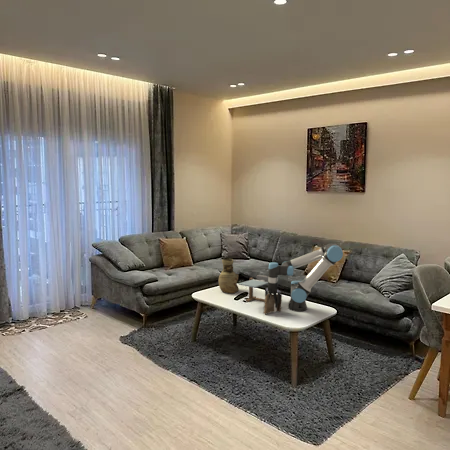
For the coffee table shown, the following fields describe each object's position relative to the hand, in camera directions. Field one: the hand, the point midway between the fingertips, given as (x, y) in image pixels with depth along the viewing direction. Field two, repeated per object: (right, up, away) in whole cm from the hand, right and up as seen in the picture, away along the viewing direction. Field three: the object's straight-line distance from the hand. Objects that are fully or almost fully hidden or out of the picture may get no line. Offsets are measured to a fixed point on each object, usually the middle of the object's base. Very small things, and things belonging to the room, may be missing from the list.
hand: (272, 310), depth 319 cm
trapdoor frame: (-7, +2, +26) cm, 27 cm away
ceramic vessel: (-34, +6, +57) cm, 67 cm away
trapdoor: (-11, +16, +19) cm, 27 cm away
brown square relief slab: (0, -2, 0) cm, 2 cm away
